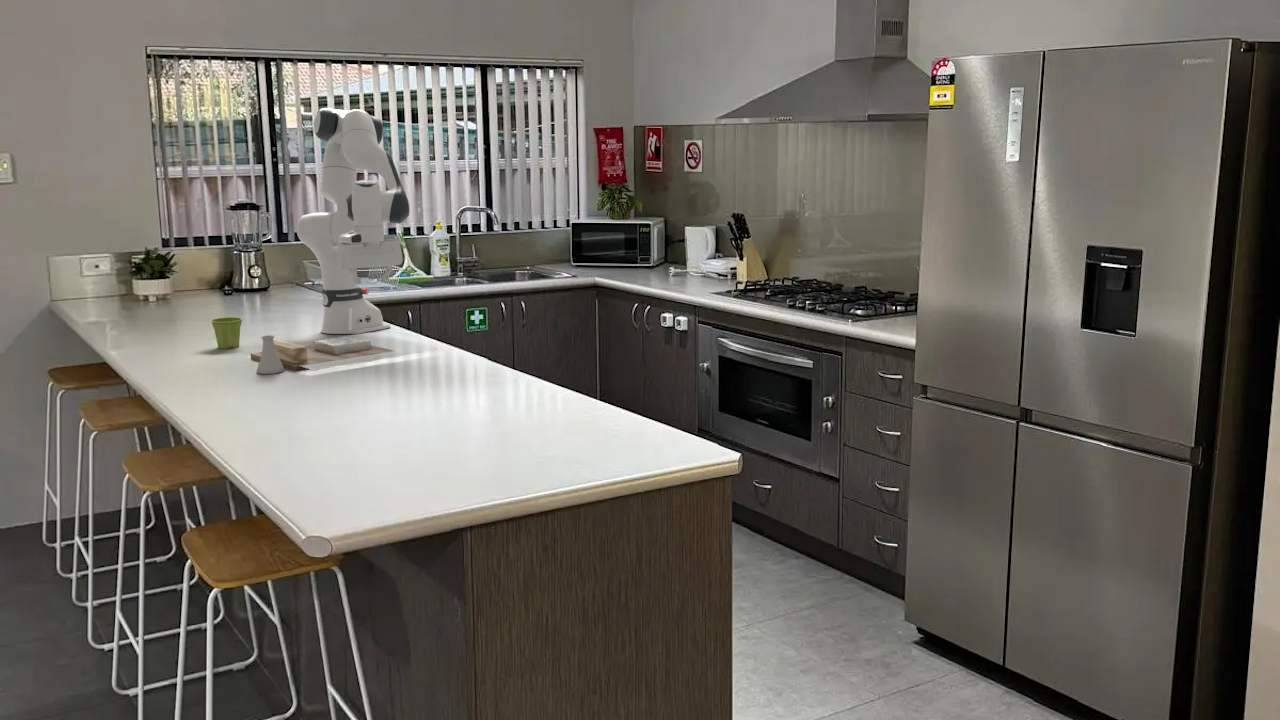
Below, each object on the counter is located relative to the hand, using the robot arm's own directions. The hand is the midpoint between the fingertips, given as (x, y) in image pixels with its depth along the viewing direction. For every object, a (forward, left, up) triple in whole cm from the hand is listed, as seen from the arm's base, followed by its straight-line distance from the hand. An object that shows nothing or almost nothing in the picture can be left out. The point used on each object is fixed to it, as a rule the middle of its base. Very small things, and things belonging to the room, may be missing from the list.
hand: (371, 282), depth 343 cm
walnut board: (+17, 0, -20) cm, 27 cm away
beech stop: (+29, 0, -19) cm, 35 cm away
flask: (+38, +9, -20) cm, 44 cm away
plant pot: (+29, -38, -20) cm, 52 cm away
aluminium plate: (+11, 0, -19) cm, 22 cm away
